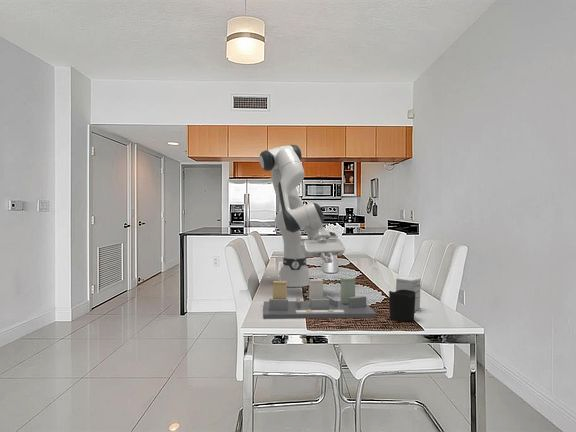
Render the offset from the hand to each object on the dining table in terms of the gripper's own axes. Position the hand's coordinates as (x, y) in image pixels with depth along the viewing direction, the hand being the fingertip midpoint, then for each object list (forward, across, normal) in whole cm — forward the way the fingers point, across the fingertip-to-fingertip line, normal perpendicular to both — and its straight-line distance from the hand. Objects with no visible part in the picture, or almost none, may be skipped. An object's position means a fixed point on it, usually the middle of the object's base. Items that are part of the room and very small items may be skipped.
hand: (329, 262), depth 192 cm
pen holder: (+39, +8, -16) cm, 43 cm away
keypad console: (+23, -15, 0) cm, 28 cm away
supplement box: (+32, +20, -8) cm, 39 cm away
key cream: (+20, -14, +1) cm, 24 cm away
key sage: (+21, 0, -1) cm, 21 cm away
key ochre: (+19, -29, +2) cm, 34 cm away
